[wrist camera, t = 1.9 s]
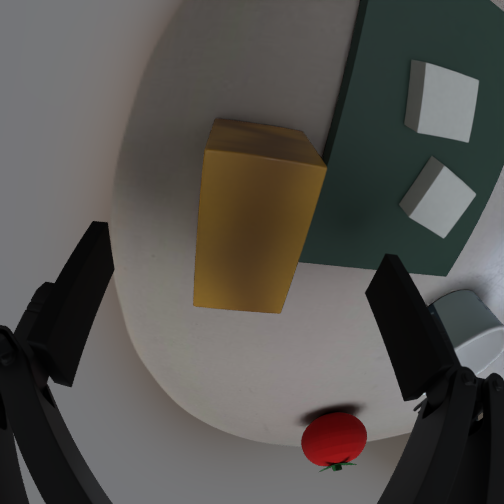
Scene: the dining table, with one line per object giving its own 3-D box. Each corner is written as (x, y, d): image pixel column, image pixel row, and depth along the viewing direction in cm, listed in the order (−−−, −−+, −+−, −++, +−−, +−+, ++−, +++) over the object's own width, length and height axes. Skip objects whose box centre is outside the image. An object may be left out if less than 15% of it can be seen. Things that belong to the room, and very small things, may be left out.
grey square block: (410, 59, 12) (426, 62, 11) (463, 75, 12) (479, 80, 11) (403, 124, 14) (417, 133, 13) (454, 134, 15) (468, 143, 13)
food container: (495, 300, 27) (519, 341, 22) (427, 357, 33) (442, 398, 28) (465, 262, 23) (499, 314, 18) (378, 337, 29) (395, 390, 24)
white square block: (431, 155, 16) (444, 165, 14) (464, 183, 17) (476, 194, 15) (398, 204, 18) (408, 217, 16) (433, 226, 19) (443, 239, 18)
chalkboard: (371, -61, 8) (379, -66, 7) (525, 40, 10) (536, 43, 9) (294, 251, 21) (297, 262, 20) (440, 267, 23) (446, 276, 22)
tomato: (368, 397, 39) (381, 455, 32) (353, 420, 46) (362, 468, 38) (300, 407, 39) (308, 470, 32) (296, 428, 46) (301, 479, 38)
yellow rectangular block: (201, 246, 21) (193, 307, 17) (214, 117, 15) (204, 148, 11) (272, 254, 21) (280, 314, 17) (303, 131, 16) (328, 167, 12)
